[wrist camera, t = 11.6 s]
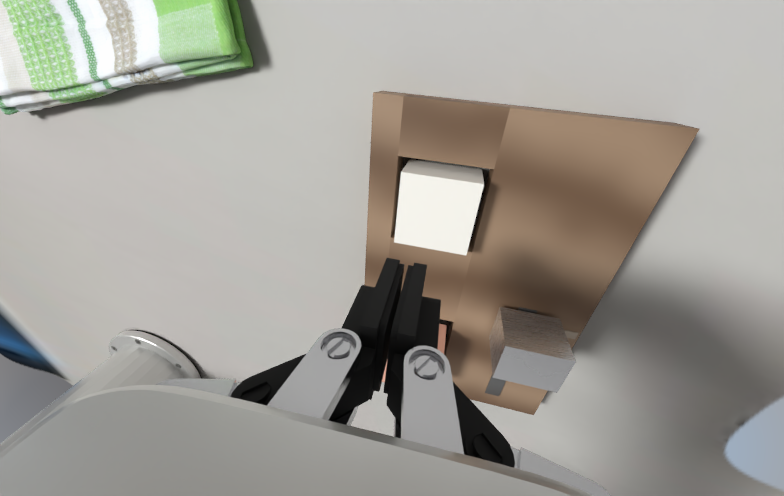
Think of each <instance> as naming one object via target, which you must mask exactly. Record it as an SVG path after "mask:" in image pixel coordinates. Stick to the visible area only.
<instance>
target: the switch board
mask: <svg viewBox="0 0 784 496" xmlns="http://www.w3.org/2000/svg"><path fill="white" fill-rule="evenodd" d="M698 131H699V129H698V128H694V127H689V126H685V125H681V124H677V123H670V122H661V121H652V120H643V119H634V118H624V117H615V116H606V115H597V114H588V113H579V112H570V111H561V110H551V109H542V108H533V107H524V106H515V105H506V104H497V103H488V102H478V101H469V100H460V99H451V98H442V97H433V96H424V95H415V94H406V93H396V92H387V91H379V92H374V93H373V110H372V133H371V155H370V177H369V199H368V221H367V244H366V266H365V286H371V287H375V286H376V283H377V281H378V278H379V276H380V273H381V271H382V268H383V266H384V263H385V261H386V258H391V259H397V260H400V264H404V273H403V280H402V287H403V283H404V280H405V276H406V272H407V268H408V265H411V266H413V265H414V263H420V264H426V265H427V269H426V275H425V281H424V288H423V294H422V296H424V297H429V298H434V299H440V300H441V307H440V319H442V320H447V321H451V323H450V327H449V331H448V335H447V339H446V343H445V349H444V355H445V356H446V358H447V359H448V361H449V364H450V367H451V374H452V380H453V382H454V383H455V384H456V385H457V386H458V387H459V389H460V390H461V391H462V392H463V393H464V394H465V395H466V396H467V397H468V398H469V399H471V400H476V401H480V402H484V403H488V404H492V405H496V406H500V407H504V408H508V409H512V410H516V411H520V412H524V413H528V414H532V415H534V413H535V412H536V410H537V408H538V407H539V405H540V403H541V401H542V400H543V398H544V396H545V395H546V393H547V391H548V390H543V389H539V388H535V387H531V386H526V385H522V384H518V383H514V382H510V381H505V380H501V379H497V378H493V377H492V365H491V352H490V340H489V336H490V333H491V330H492V327H493V325H494V322H495V319H496V316H497V313H498V311H499V308H500V307H504V308H509V309H514V310H519V311H524V312H529V313H534V314H538V315H543V316H548V317H553V318H558V319H560V320H561V323H562V326H563V328H564V331H565V334H566V336H567V339H568V342H569V344H570V347H571V350H572V348H573V346H574V345H575V343H576V341H577V339H578V338H579V336H580V334H581V332H582V331H583V329H584V327H585V326H586V324H587V322H588V320H589V319H590V317H591V315H592V313H593V312H594V310H595V308H596V307H597V305H598V303H599V301H600V300H601V298H602V296H603V294H604V293H605V291H606V289H607V288H608V286H609V284H610V282H611V281H612V279H613V277H614V276H615V274H616V272H617V270H618V269H619V267H620V265H621V263H622V262H623V260H624V258H625V257H626V255H627V253H628V251H629V250H630V248H631V246H632V244H633V243H634V241H635V239H636V238H637V236H638V234H639V232H640V231H641V229H642V227H643V226H644V224H645V222H646V220H647V219H648V217H649V215H650V213H651V212H652V210H653V208H654V207H655V205H656V203H657V201H658V200H659V198H660V196H661V194H662V193H663V191H664V189H665V188H666V186H667V184H668V182H669V181H670V179H671V177H672V175H673V174H674V172H675V170H676V169H677V167H678V165H679V163H680V162H681V160H682V158H683V157H684V155H685V153H686V151H687V150H688V148H689V146H690V144H691V143H692V141H693V139H694V138H695V136H696V134H697V132H698ZM403 157H409V158H416V159H424V160H431V161H438V162H445V163H452V164H459V165H466V166H474V167H481V168H488V169H490V170H489V174H488V178H487V181H486V185H485V189H484V193H483V197H482V201H481V205H480V209H479V213H478V217H477V221H476V225H475V229H474V233H473V237H472V238H471V239H470V243H469V247H468V251H467V255H460V254H455V253H449V252H444V251H438V250H433V249H427V248H422V247H416V246H411V245H405V244H400V243H395V242H394V237H395V227H396V217H397V207H398V197H399V187H400V177H401V171H402V165H403ZM401 291H402V288H401Z"/></svg>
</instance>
